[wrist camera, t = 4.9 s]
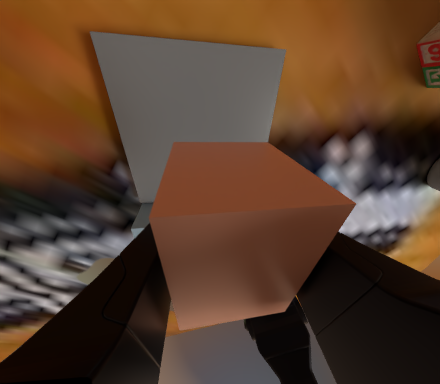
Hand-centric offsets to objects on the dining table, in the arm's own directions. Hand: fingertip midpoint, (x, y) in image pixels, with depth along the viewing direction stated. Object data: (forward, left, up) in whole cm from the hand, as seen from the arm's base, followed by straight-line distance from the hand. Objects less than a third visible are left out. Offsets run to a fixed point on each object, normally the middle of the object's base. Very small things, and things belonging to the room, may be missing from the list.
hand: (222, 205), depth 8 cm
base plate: (+1, +1, -13) cm, 13 cm away
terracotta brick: (0, 0, -1) cm, 1 cm away
